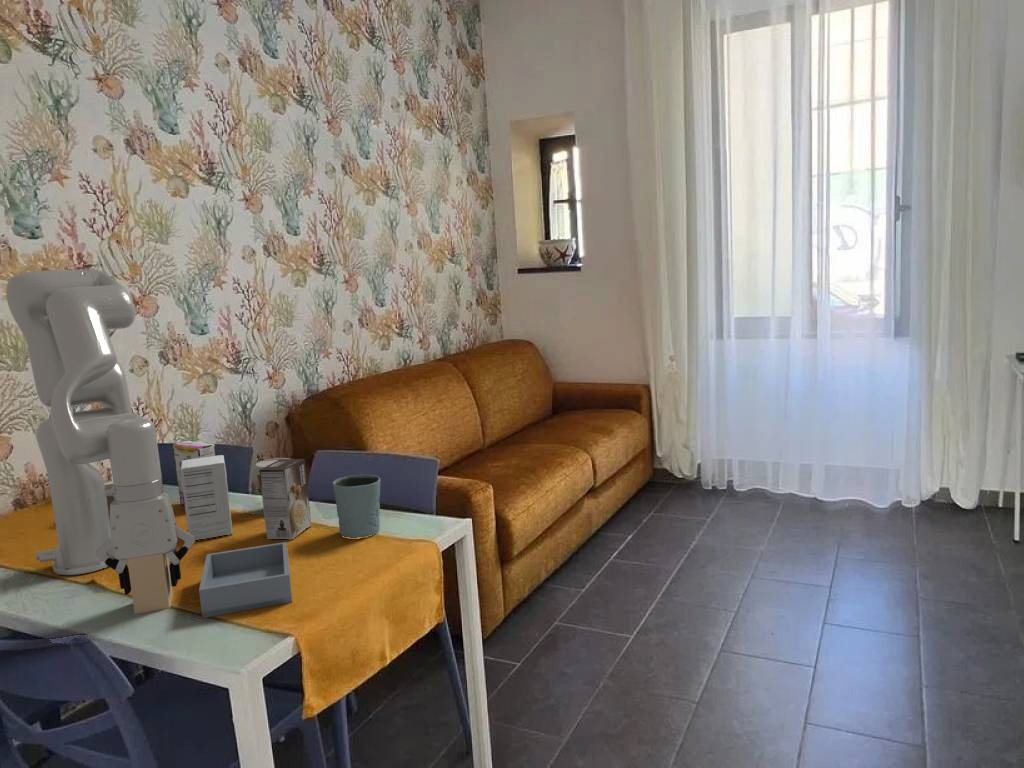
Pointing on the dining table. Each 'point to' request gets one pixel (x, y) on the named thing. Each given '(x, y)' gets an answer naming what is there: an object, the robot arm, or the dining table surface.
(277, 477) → the coffee box
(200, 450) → the candy bar box
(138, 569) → the carton
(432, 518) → the dining table surface
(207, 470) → the supplement box
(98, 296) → the robot arm
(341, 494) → the teal cup
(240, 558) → the tote
